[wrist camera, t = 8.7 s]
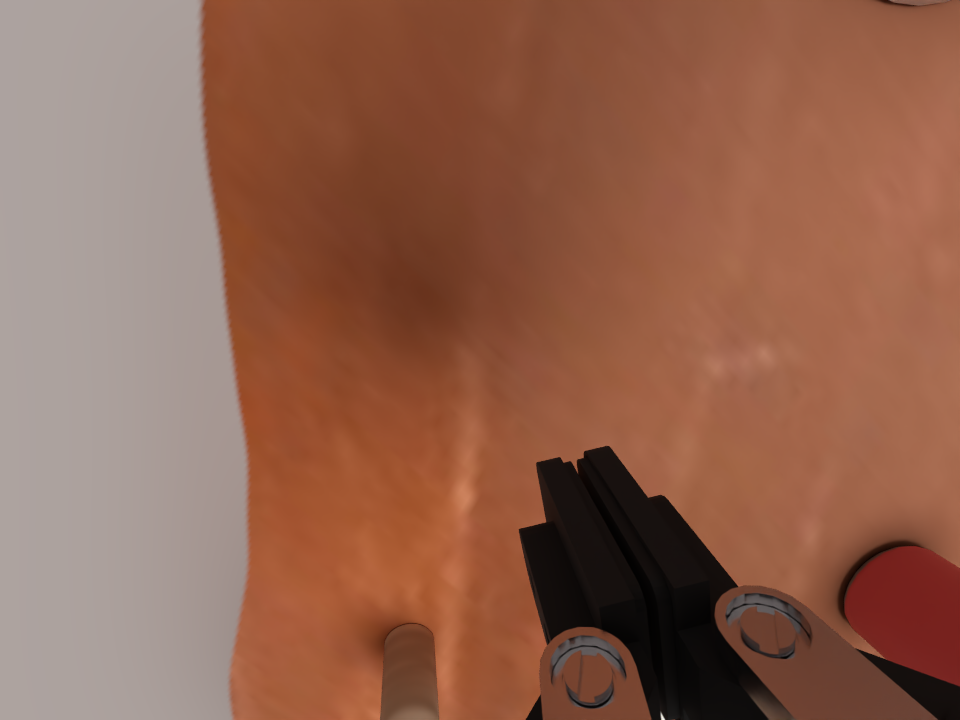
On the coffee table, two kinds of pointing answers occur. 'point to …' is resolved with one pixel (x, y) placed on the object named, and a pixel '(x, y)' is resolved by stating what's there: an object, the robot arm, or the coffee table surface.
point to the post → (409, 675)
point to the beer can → (909, 610)
